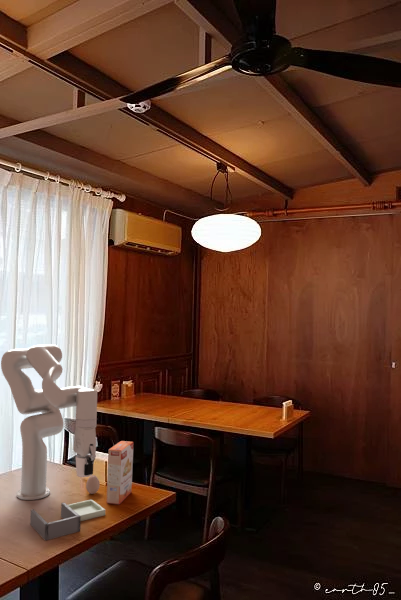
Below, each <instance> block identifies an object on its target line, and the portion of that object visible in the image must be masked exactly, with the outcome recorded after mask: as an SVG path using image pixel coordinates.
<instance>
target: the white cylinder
mask: <svg viewBox="0 0 401 600" xmlns="http://www.w3.org/2000/svg"><path fill="white" fill-rule="evenodd" d="M87 455H91V454H90V453H88V454H87ZM89 458H90V457H88V459H89ZM94 463H95V462H94ZM94 463H93V465H94ZM85 464H86V462H85V457H82V456H80V455H79V454H78V455H77V454H76V455H75V468H76V469H75V471H76V477H78V478H89V477H90V476H92V475H93V474H91V475H86V476H85V475H84V466H85Z"/></svg>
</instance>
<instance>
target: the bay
mask: <svg viewBox="0 0 401 600" xmlns="http://www.w3.org/2000/svg"><path fill="white" fill-rule="evenodd" d="M68 505H69V504H66V502H64V501H63V502H61V507H60V510H61V511H60V518H62V519H59V520H53V521H50V522H47V521H46V520H45V519H44V518H43V516H41V514H39V512H37V511H36V510H35V509H33V508H32V509H30V522H29V524H30V526H31V527H32V528H33V529H34V530H35V531H36V532H37V534H38V535H39V536H40V537H41V538H42V539H43V540H44V541H49V540H51V539H52V540H53V539H56V538H60V537H64V536H67V535H72V534H74V533H79V532H81V522H82V521H81V516H80V515H79V514H77V513H76V512H75V511H74V510H73V509H71V508H70V507H69V506H68Z"/></svg>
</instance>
